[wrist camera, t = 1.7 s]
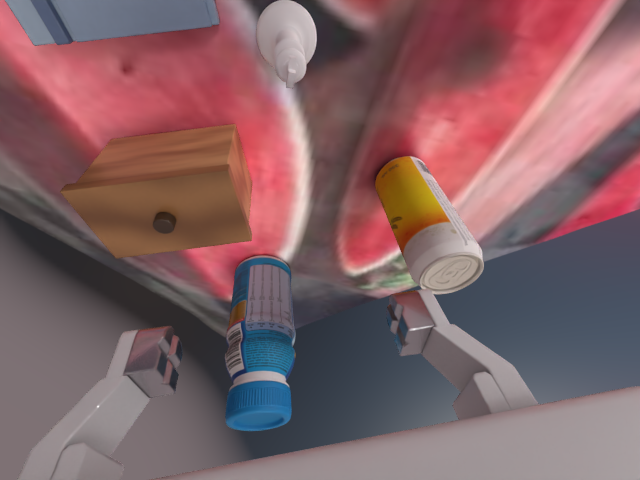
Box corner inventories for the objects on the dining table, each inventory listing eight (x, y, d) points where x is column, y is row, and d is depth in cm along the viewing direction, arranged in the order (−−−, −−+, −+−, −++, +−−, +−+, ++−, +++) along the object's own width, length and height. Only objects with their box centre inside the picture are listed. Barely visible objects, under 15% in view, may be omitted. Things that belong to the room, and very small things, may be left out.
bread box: (106, 136, 29) (52, 199, 22) (237, 120, 29) (226, 178, 22) (144, 199, 34) (111, 267, 27) (255, 185, 35) (251, 248, 28)
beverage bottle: (285, 248, 42) (291, 403, 28) (296, 283, 48) (305, 426, 34) (225, 258, 42) (202, 417, 28) (244, 292, 48) (232, 438, 34)
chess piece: (322, 7, 24) (342, 36, 17) (311, 75, 27) (324, 123, 20) (258, -8, 23) (250, 17, 16) (254, 65, 26) (247, 112, 19)
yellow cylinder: (363, 187, 36) (400, 289, 26) (394, 144, 33) (451, 242, 22) (403, 202, 39) (451, 302, 28) (435, 164, 35) (504, 261, 25)
